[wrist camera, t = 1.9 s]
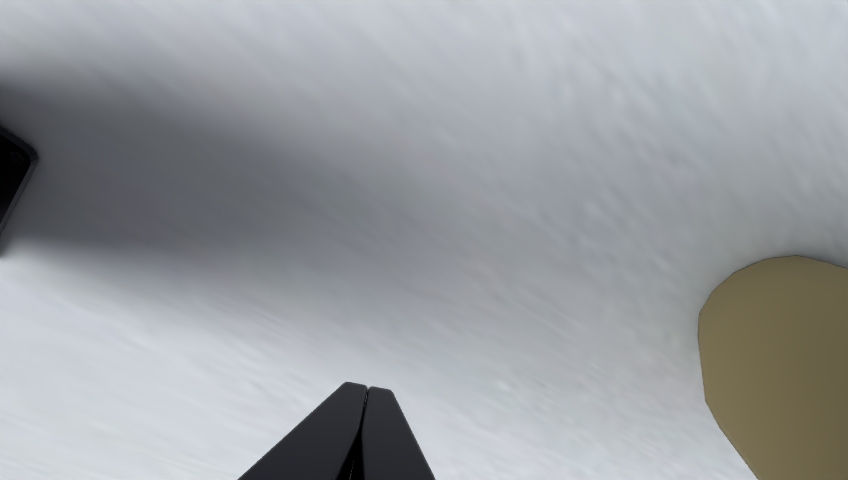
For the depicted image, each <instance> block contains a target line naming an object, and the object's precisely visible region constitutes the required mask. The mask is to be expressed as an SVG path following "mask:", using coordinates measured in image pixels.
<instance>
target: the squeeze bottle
mask: <svg viewBox="0 0 848 480" xmlns="http://www.w3.org/2000/svg"><path fill="white" fill-rule="evenodd" d="M698 343H699V351H700V360H701V368H702V376H703V385H704V393H705V401H706V403H707V405H708V407H709V409H710V411H711V413H712V414H713V416H714V418H715V420H716V422H717V424H718V426H719V428H720V429H721V430H722V432H723V433H724V434H725V436H726V437H727V438H728V440H729V441H730V442H731V444H732V445H733V446H734V448H735V449H736V450H737V452H738V453H739V455H740V456H741V457H742V459H743V460H744V461H745V463H746V464H747V465H748V467H749V468H750V469H751V471H752V472H753V473H754V475H755V476H756V478H757V479H758V480H848V269H847V268H844V267H840V266H837V265H834V264H830V263H827V262H823V261H819V260H814V259H810V258H805V257H801V256H796V255H795V256H787V257H780V258H772V259H764V260H762V261H760V262H757V263H755V264H753V265H751V266H748V267H746V268H744V269H742V270H739V271H737V272H735V273H734V274H733V275H731V276H730V277H729V278H728V279H727V280H725V281H724V282H723V283H722V284H721V285H720V286H718V287H717V288H716V289H715V290H714V291H713V292H712V293H711V295H710V296H709V298H708V300H707V302H706V303H705V305H704V307H703V309H702V310H701V312H700V314H699V324H698Z"/></svg>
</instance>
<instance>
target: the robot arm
mask: <svg viewBox="0 0 848 480" xmlns="http://www.w3.org/2000/svg"><path fill="white" fill-rule="evenodd" d="M18 153H20V154H21V155H22V156H23V158H24V160H22V159H21V158H20V157H19V155H18ZM37 162H38V156H37V153H36V151H35V150H34V149H33V148H32V147H31V146H30V145H29V144H27V143H26V142H24V141H23V140H21V139H20V138H18V137H17V136H15V135H14V134H12V133H11V132H9V131H8V130H6V129H5V128H3V127H2V126H0V234H1V232H2V230H3V228H4V226H5V224H6V222H7V220H8V218H9V216H10V214H11V212H12V210H13V208H14V207H15V205H16V203H17V201H18V199H19V197H20V195H21V193H22V191H23V189H24V187H25V185H26V183H27V182H28V180H29V178H30V176H31V174H32V172H33V170H34V168H35V166H36V164H37ZM367 391H368V392H367ZM366 396H367V397H366ZM365 401H366V402H365ZM364 406H365V407H364ZM354 456H355V457H354ZM353 461H354V462H353ZM352 466H353V467H352ZM351 471H352V472H351ZM350 476H351V477H350ZM238 480H436V479H435V477H434V475H433V473H432V471H431V469H430V467H429V465H428V463H427V461H426V459H425V457H424V455H423V453H422V451H421V449H420V447H419V445H418V443H417V441H416V439H415V437H414V435H413V433H412V430H411V428H410V426H409V424H408V422H407V420H406V418H405V416H404V414H403V412H402V410H401V408H400V406H399V404H398V402H397V400H396V398H395V396H394V394H393V392H392V391H391V390H389V389H384V388H378V387H370V388H369V389H368V388H367V386H366V385H362V384H357V383H352V382H345V383H343V384H342V385H341V386H340V387H339V388H338V389H337V390H336V391H335V392H333V393H332V394H331V395H330V396H329V397H328V398H327V399H326V400H325V401H324V402H322V403H321V404H320V405H319V406H318V407H317V408H316V409H315V410H314V411H313V412H311V413H310V414H309V415H308V416H307V417H306V418H305V419H304V420H303V421H302V422H300V423H299V424H298V425H297V426H296V427H295V428H294V429H293V430H292V431H291V432H289V433H288V434H287V435H286V436H285V437H284V438H283V439H282V440H281V441H279V442H278V443H277V444H276V445H275V446H274V447H273V448H272V449H271V450H270V451H268V452H267V453H266V454H265V455H264V456H263V457H262V458H261V459H260V460H259V461H257V462H256V463H255V464H254V465H253V466H252V467H251V468H250V469H249V470H248V471H246V472H245V473H244V474H243V475H242V476H241V477H240V478H239V479H238Z"/></svg>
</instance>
